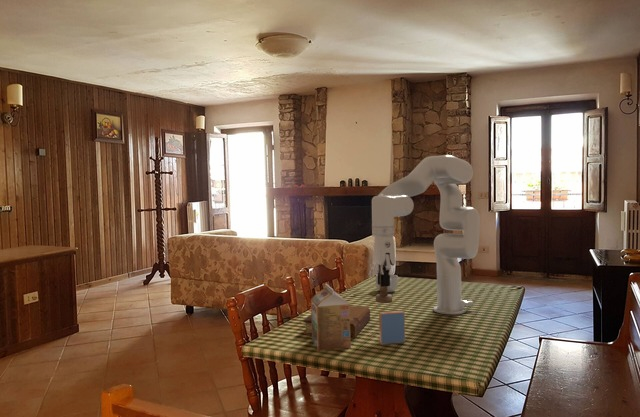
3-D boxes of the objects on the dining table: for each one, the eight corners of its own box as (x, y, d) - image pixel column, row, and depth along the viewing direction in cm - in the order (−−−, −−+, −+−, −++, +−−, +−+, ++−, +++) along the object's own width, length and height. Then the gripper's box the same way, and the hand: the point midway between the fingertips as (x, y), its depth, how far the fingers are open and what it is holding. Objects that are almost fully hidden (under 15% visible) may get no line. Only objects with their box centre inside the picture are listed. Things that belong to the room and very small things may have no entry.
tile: (403, 340, 155) (402, 310, 155) (405, 342, 153) (404, 312, 152) (379, 342, 154) (379, 312, 153) (381, 344, 152) (380, 313, 151)
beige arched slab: (355, 340, 158) (354, 323, 158) (303, 336, 164) (303, 320, 164) (370, 321, 180) (369, 306, 180) (324, 318, 186) (323, 303, 186)
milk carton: (350, 347, 149) (349, 288, 149) (318, 350, 147) (316, 291, 146) (342, 337, 160) (340, 282, 159) (311, 340, 158) (310, 284, 157)
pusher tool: (389, 299, 164) (388, 259, 163) (394, 302, 158) (393, 261, 158) (373, 299, 163) (373, 259, 162) (378, 303, 157) (377, 262, 157)
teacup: (376, 288, 236) (375, 273, 236) (397, 288, 235) (397, 273, 234) (375, 295, 222) (375, 278, 222) (398, 295, 221) (398, 278, 221)
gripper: (401, 233, 152) (401, 289, 153) (386, 229, 168) (387, 280, 169) (378, 233, 151) (379, 290, 152) (366, 230, 167) (367, 281, 168)
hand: (383, 284), depth 160 cm, fingers closed on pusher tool, 2 cm apart
